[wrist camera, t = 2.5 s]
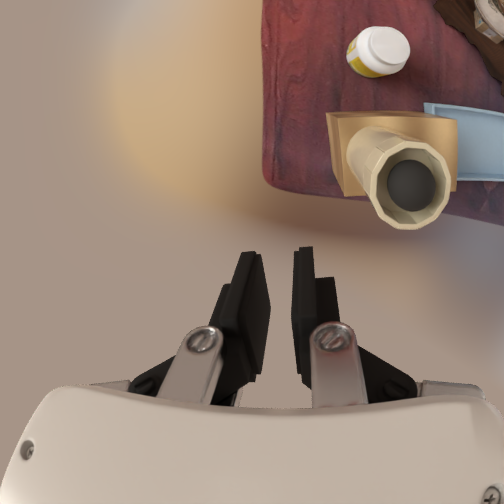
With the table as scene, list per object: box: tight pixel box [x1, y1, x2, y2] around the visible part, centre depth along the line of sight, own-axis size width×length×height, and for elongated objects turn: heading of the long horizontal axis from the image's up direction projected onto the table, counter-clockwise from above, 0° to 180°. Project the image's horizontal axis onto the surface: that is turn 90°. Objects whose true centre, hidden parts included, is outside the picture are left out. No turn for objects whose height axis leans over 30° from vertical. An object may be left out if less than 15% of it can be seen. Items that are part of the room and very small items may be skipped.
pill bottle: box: [346, 26, 410, 78], centre depth 26 cm, size 6×6×12 cm
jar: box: [346, 126, 451, 229], centre depth 23 cm, size 7×7×11 cm
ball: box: [387, 159, 436, 212], centre depth 19 cm, size 4×4×4 cm
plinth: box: [326, 111, 458, 197], centre depth 32 cm, size 15×9×12 cm, turn 100°
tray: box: [424, 103, 504, 181], centre depth 31 cm, size 23×12×3 cm, turn 100°
